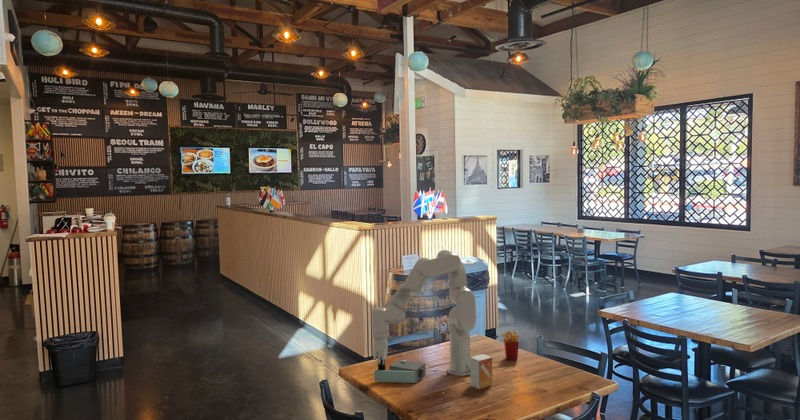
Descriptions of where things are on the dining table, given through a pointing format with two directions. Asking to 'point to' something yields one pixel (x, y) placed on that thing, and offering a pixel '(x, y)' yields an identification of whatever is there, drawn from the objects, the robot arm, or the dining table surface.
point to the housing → (410, 368)
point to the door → (395, 376)
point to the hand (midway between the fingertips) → (381, 372)
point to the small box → (481, 371)
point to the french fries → (511, 346)
